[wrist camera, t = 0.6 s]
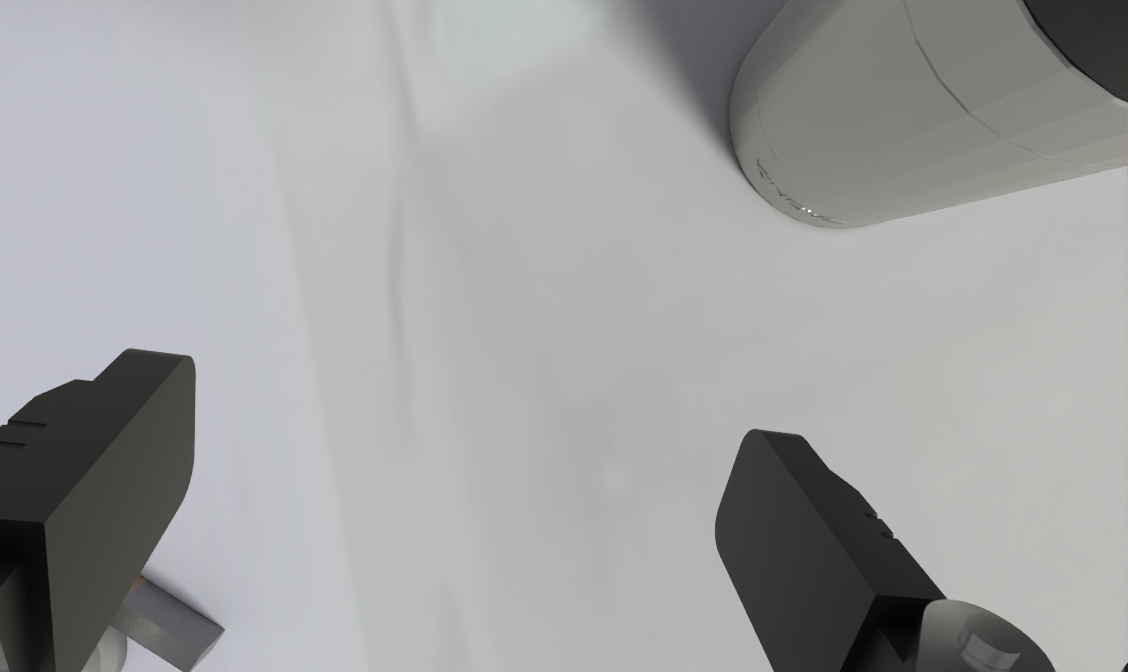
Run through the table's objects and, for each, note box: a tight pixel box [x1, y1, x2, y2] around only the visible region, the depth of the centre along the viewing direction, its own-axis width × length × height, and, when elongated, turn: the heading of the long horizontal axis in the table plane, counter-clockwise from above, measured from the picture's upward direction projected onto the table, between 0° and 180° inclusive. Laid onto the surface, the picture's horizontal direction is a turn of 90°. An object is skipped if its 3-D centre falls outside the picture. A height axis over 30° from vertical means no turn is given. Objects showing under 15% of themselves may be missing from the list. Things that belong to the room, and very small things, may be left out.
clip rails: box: [109, 575, 225, 672], centre depth 28 cm, size 8×10×3 cm
